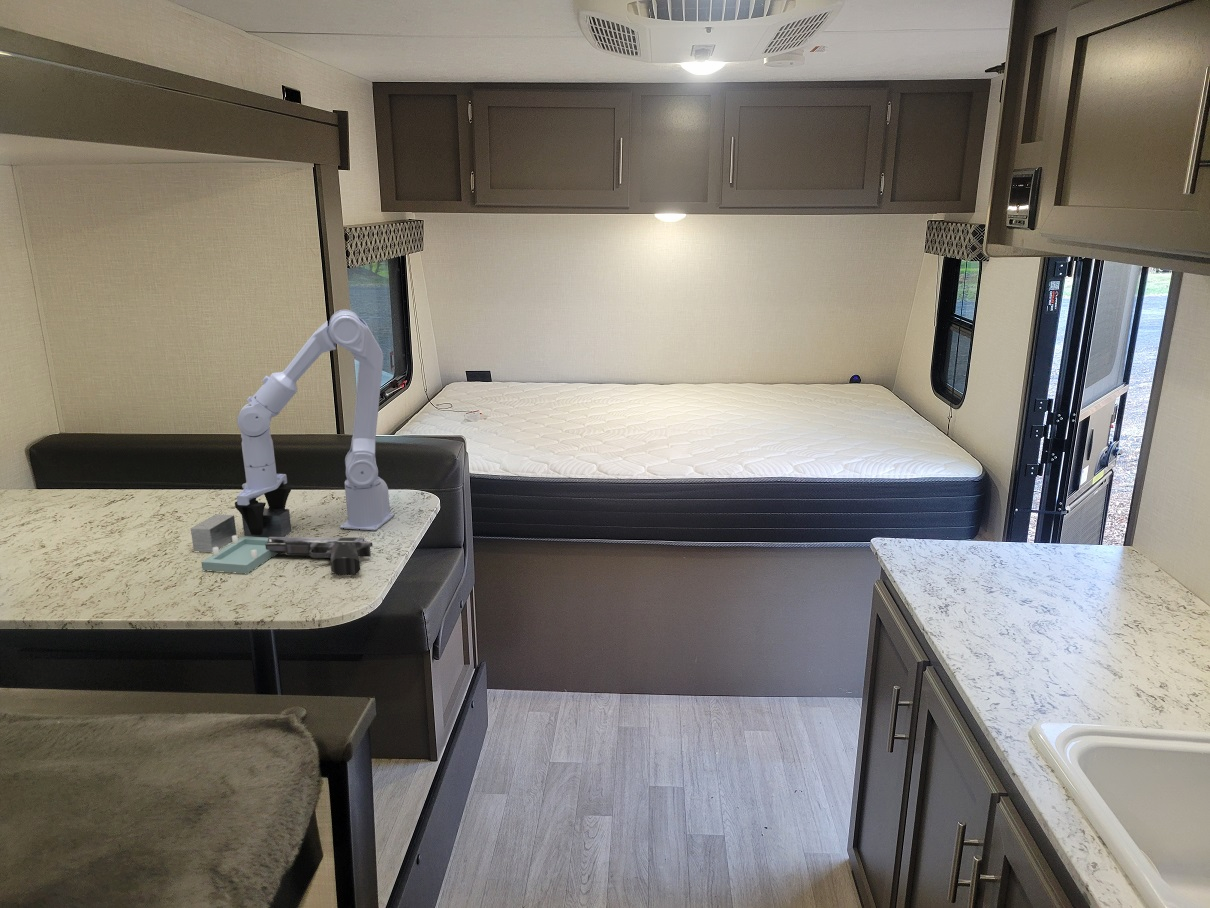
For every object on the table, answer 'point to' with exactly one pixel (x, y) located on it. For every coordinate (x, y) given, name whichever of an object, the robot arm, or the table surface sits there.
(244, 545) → the tray
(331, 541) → the handgun
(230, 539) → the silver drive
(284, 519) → the dark grey rectangular block
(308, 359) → the robot arm
